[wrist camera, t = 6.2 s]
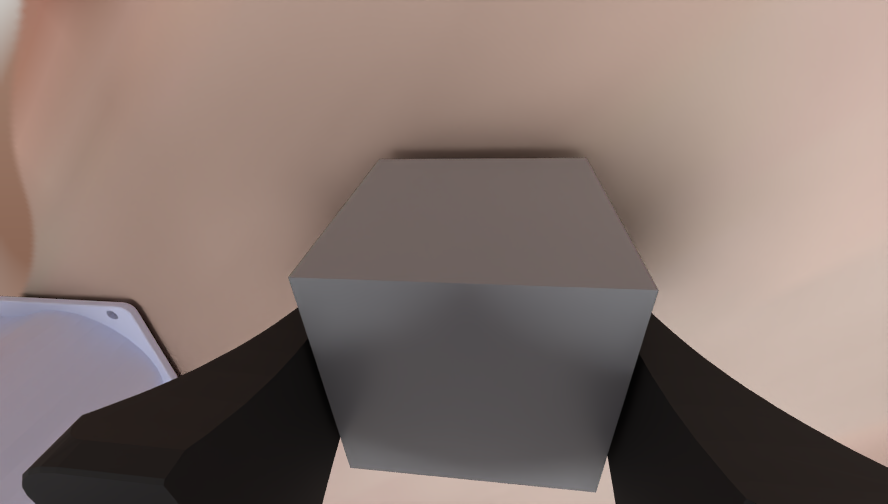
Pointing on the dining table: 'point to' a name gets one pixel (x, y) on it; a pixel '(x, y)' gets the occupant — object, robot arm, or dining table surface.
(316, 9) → the dining table surface
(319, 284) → the grey cube
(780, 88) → the dining table surface
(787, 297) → the dining table surface
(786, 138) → the dining table surface
